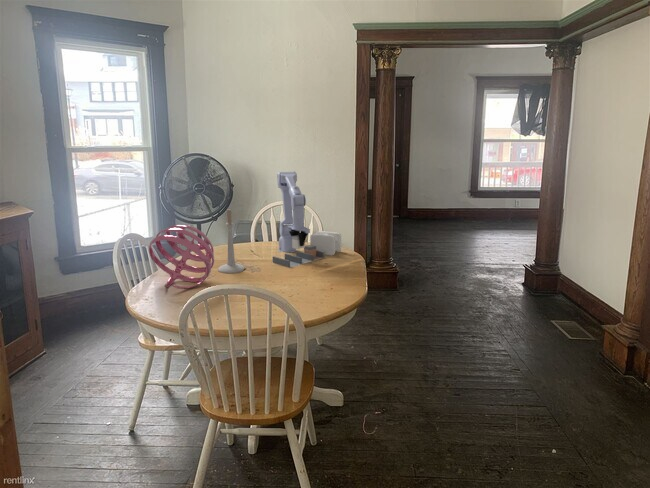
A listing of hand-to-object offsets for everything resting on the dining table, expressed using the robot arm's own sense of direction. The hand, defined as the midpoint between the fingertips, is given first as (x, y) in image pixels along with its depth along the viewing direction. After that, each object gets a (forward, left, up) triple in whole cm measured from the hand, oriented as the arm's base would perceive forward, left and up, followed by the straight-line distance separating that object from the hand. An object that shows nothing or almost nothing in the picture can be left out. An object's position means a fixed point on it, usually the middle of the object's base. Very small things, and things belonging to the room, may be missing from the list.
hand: (298, 245), depth 255 cm
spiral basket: (-8, -60, -9) cm, 61 cm away
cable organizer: (-2, +22, -9) cm, 23 cm away
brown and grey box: (0, +8, -8) cm, 11 cm away
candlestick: (-13, -32, -9) cm, 36 cm away
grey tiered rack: (0, 0, -9) cm, 9 cm away
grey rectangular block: (0, 0, -1) cm, 1 cm away
